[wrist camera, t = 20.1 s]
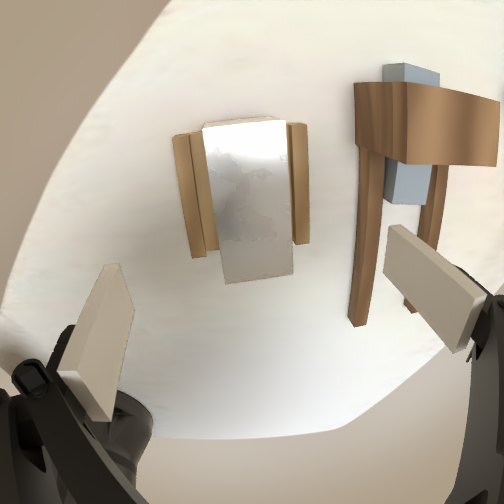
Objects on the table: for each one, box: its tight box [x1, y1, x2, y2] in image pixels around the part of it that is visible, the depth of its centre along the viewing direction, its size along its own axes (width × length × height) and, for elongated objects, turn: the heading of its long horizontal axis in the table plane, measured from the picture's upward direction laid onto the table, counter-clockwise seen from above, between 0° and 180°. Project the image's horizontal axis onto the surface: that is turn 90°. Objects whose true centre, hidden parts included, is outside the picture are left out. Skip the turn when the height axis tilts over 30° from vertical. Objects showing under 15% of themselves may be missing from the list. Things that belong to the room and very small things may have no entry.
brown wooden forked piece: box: [348, 82, 500, 327], centre depth 25 cm, size 10×24×8 cm, turn 5°
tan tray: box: [172, 123, 309, 258], centre depth 25 cm, size 10×10×2 cm
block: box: [203, 116, 293, 284], centre depth 22 cm, size 11×5×5 cm, turn 6°
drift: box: [383, 63, 440, 205], centre depth 23 cm, size 12×4×4 cm, turn 0°
